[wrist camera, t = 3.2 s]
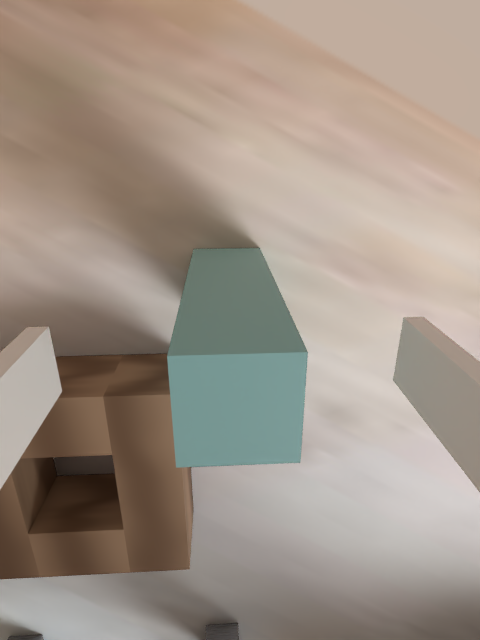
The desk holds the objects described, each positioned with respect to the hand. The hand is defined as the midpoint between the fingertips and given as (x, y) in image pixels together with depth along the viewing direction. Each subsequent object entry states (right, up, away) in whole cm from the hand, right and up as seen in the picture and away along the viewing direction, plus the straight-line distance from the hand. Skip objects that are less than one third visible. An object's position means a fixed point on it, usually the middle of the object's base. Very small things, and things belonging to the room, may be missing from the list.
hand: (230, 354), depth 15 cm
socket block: (-10, -8, +14) cm, 19 cm away
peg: (0, +4, +10) cm, 11 cm away
